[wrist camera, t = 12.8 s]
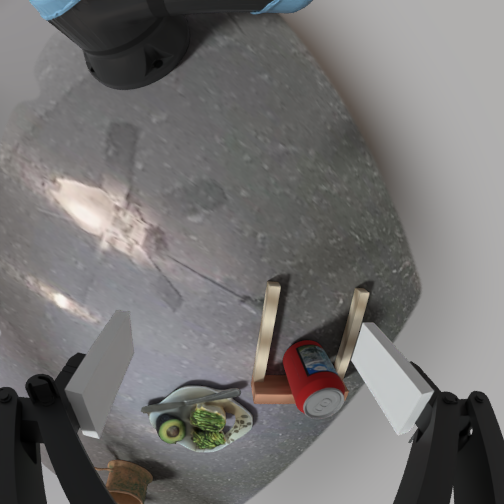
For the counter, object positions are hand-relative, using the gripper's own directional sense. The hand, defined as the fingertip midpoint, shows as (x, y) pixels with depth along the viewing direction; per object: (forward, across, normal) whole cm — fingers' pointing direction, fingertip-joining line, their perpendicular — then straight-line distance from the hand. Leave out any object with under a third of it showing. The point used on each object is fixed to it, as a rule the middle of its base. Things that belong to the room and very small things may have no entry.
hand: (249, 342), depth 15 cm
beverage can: (+23, +12, -17) cm, 31 cm away
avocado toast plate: (+23, -4, -33) cm, 40 cm away
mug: (+22, -24, -56) cm, 65 cm away
